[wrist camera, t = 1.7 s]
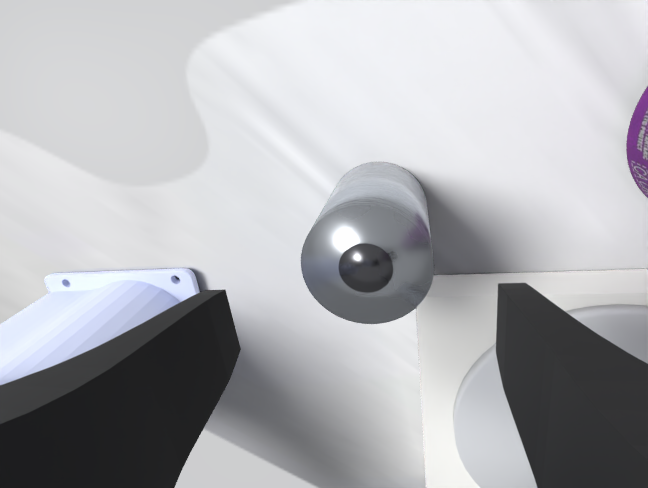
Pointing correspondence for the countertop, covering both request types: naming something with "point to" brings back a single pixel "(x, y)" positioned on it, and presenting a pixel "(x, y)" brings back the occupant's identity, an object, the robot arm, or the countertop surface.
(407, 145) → the countertop surface
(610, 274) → the kitchen scale
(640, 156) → the beverage can
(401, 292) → the steel spacer
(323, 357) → the countertop surface
